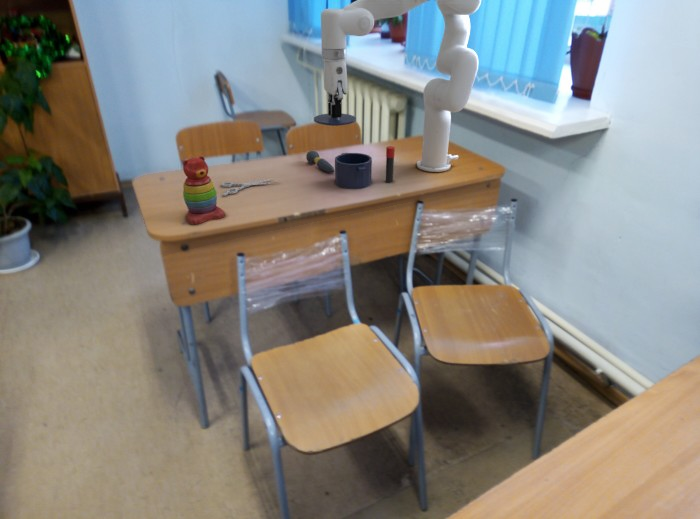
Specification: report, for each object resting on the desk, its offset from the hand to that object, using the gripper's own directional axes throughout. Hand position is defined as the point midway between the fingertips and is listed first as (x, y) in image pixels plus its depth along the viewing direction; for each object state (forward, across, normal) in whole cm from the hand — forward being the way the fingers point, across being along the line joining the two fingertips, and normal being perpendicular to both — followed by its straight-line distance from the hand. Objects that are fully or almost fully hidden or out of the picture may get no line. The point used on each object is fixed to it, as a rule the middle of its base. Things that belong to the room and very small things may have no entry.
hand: (334, 115), depth 154 cm
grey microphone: (+24, +19, -1) cm, 30 cm away
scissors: (+24, +9, +28) cm, 38 cm away
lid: (+1, 0, 0) cm, 1 cm away
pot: (+23, 0, -7) cm, 24 cm away
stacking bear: (+24, -10, +46) cm, 52 cm away
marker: (+23, -4, -19) cm, 30 cm away
